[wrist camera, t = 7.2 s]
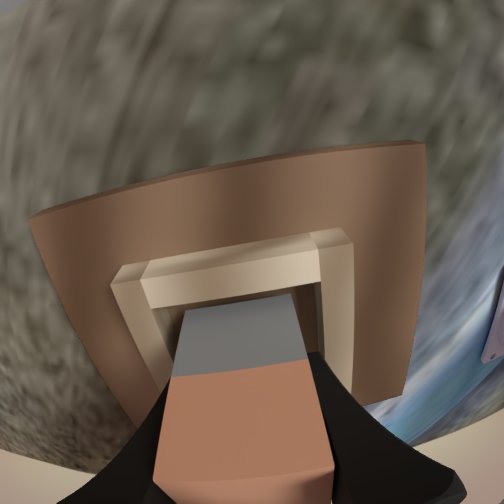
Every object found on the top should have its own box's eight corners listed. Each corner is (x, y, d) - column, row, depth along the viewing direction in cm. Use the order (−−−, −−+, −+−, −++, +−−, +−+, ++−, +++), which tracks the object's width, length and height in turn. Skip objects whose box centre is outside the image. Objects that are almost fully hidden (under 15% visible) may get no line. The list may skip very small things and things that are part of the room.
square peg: (290, 293, 12) (334, 465, 5) (299, 368, 13) (329, 513, 7) (185, 310, 12) (152, 480, 6) (210, 381, 14) (202, 525, 7)
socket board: (410, 140, 11) (447, 149, 9) (395, 381, 17) (410, 413, 15) (41, 210, 12) (8, 233, 9) (143, 418, 18) (136, 452, 15)
